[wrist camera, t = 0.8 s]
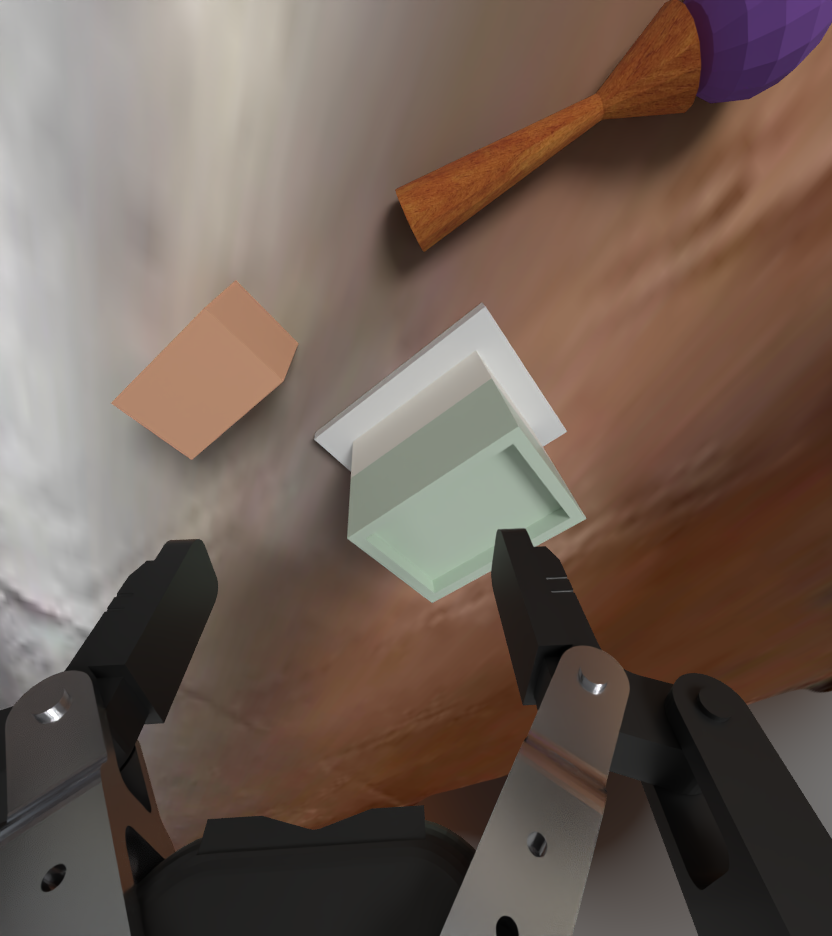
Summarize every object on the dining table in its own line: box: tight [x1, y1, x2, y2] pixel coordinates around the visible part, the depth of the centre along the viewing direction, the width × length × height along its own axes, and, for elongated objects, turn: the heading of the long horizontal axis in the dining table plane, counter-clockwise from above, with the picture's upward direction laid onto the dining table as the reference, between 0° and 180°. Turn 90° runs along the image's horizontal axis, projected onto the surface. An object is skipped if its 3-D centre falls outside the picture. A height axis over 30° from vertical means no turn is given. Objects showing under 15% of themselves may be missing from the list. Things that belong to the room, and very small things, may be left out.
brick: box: [111, 280, 298, 460], centre depth 25 cm, size 8×5×6 cm, turn 128°
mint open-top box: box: [314, 303, 586, 603], centre depth 28 cm, size 15×12×11 cm
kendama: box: [395, 0, 832, 252], centre depth 20 cm, size 6×6×20 cm
